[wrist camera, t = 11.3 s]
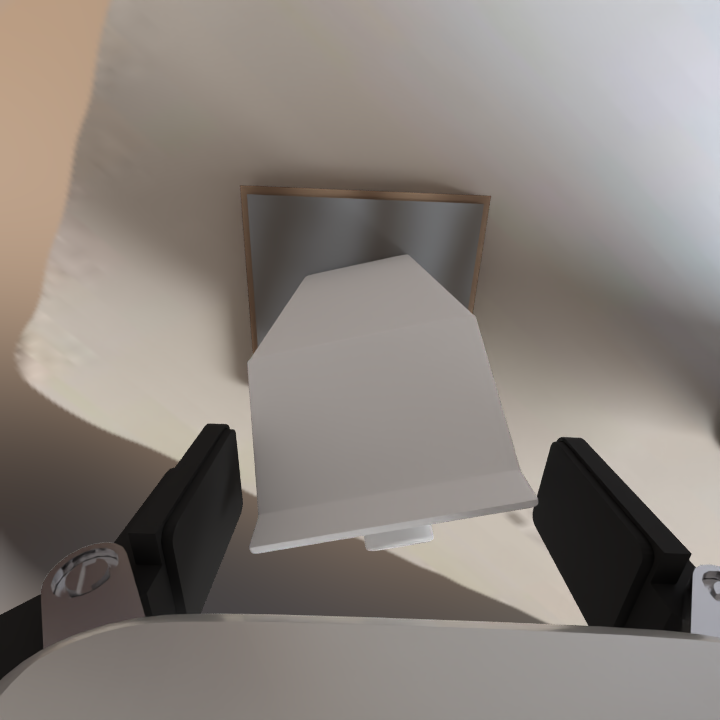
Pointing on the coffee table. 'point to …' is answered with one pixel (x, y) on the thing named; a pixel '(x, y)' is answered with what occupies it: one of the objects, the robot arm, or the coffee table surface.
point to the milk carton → (376, 413)
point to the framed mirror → (354, 239)
